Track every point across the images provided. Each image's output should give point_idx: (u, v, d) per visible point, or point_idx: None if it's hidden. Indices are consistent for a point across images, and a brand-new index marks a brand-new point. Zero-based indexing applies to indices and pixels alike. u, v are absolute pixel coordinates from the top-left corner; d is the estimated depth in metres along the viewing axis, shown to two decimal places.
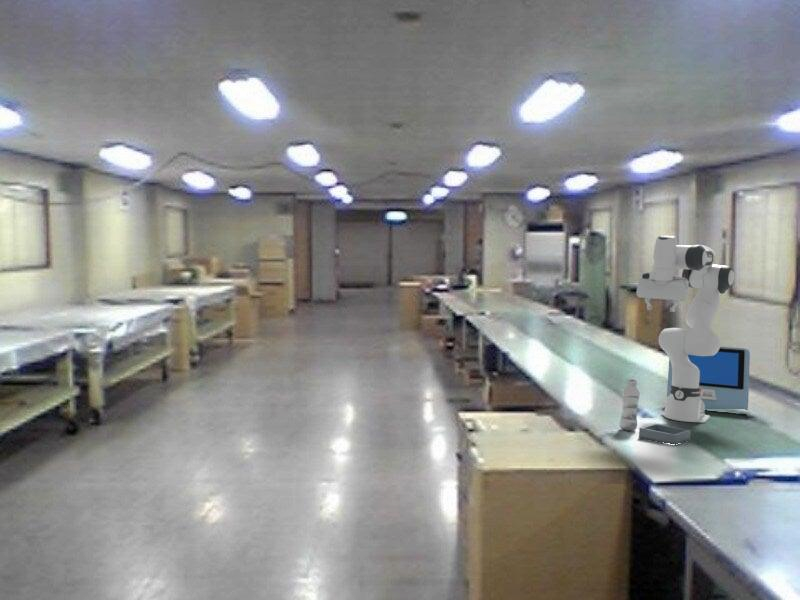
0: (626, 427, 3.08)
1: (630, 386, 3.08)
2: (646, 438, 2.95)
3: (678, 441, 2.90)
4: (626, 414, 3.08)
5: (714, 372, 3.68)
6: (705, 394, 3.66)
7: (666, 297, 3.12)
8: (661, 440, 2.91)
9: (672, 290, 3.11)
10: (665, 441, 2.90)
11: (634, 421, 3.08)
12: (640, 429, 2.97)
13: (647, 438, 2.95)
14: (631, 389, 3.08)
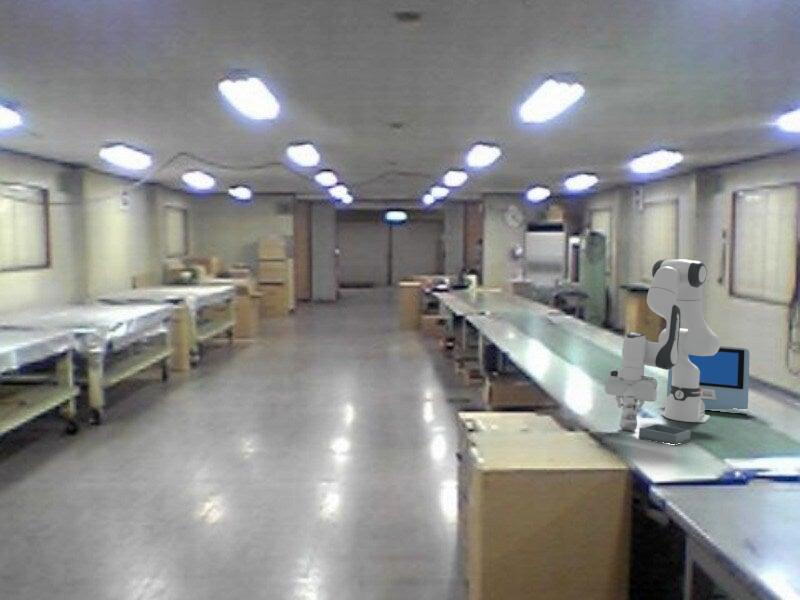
0: (626, 427, 3.08)
1: None
2: (646, 438, 2.95)
3: (678, 441, 2.90)
4: (626, 414, 3.08)
5: (714, 371, 3.69)
6: (705, 394, 3.67)
7: (634, 396, 3.07)
8: (661, 440, 2.91)
9: (641, 390, 3.05)
10: (665, 441, 2.90)
11: (634, 421, 3.08)
12: (640, 429, 2.97)
13: (647, 438, 2.95)
14: (631, 389, 3.07)
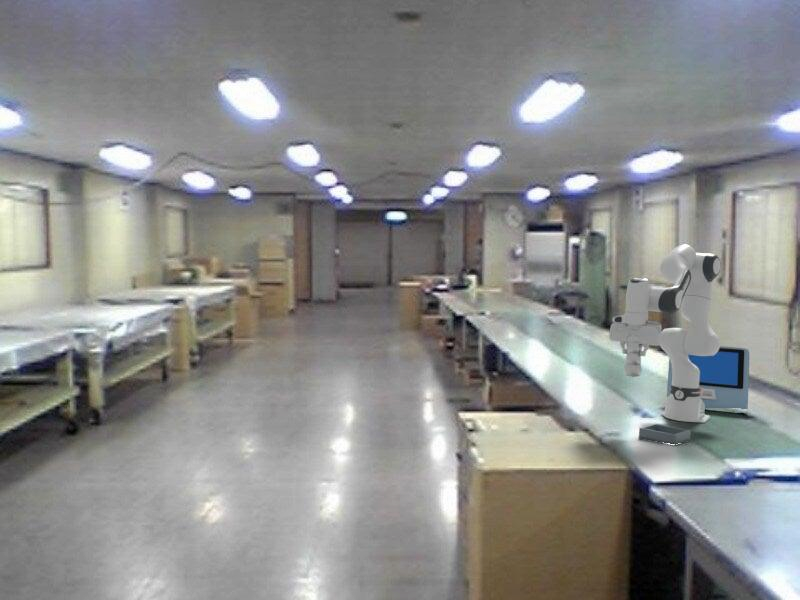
0: (630, 373, 3.07)
1: None
2: (646, 438, 2.95)
3: (678, 441, 2.90)
4: (630, 360, 3.07)
5: (714, 371, 3.69)
6: (705, 393, 3.67)
7: (639, 341, 3.06)
8: (661, 440, 2.91)
9: (645, 335, 3.04)
10: (665, 441, 2.90)
11: (638, 366, 3.07)
12: (640, 429, 2.97)
13: (647, 438, 2.95)
14: (635, 334, 3.06)
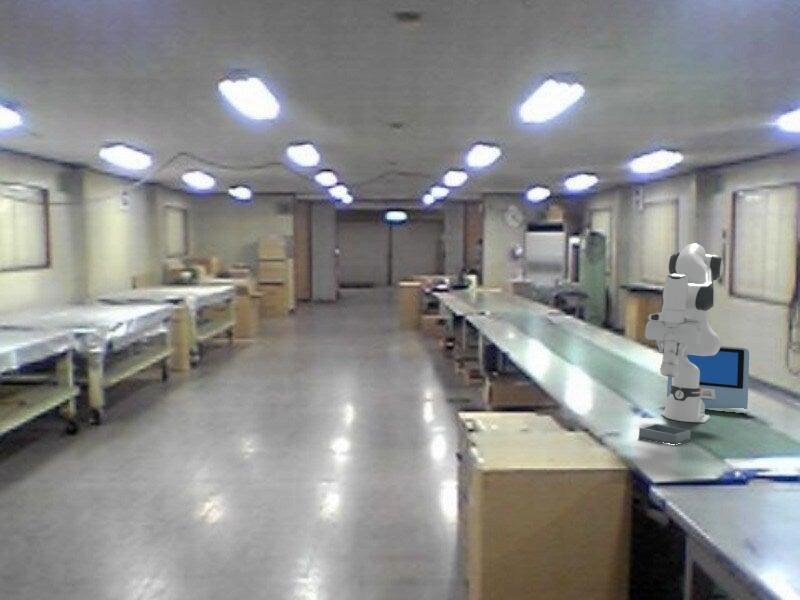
0: (667, 373, 2.94)
1: None
2: (646, 438, 2.95)
3: (678, 441, 2.90)
4: (668, 359, 2.94)
5: (714, 371, 3.70)
6: (705, 393, 3.68)
7: (677, 340, 2.93)
8: (661, 440, 2.91)
9: (684, 333, 2.91)
10: (665, 441, 2.90)
11: (676, 366, 2.94)
12: (640, 429, 2.97)
13: (647, 438, 2.95)
14: (673, 333, 2.94)
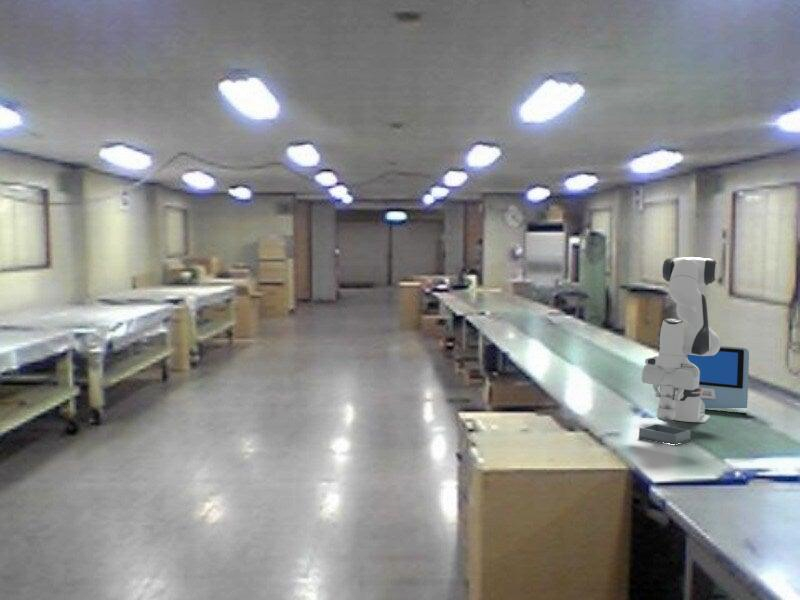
0: (664, 417, 2.95)
1: None
2: (646, 438, 2.95)
3: (678, 441, 2.90)
4: (664, 404, 2.95)
5: (714, 371, 3.70)
6: (704, 393, 3.69)
7: (673, 385, 2.94)
8: (661, 440, 2.91)
9: (680, 378, 2.92)
10: (665, 441, 2.90)
11: (672, 411, 2.95)
12: (640, 429, 2.97)
13: (647, 438, 2.95)
14: (669, 377, 2.95)
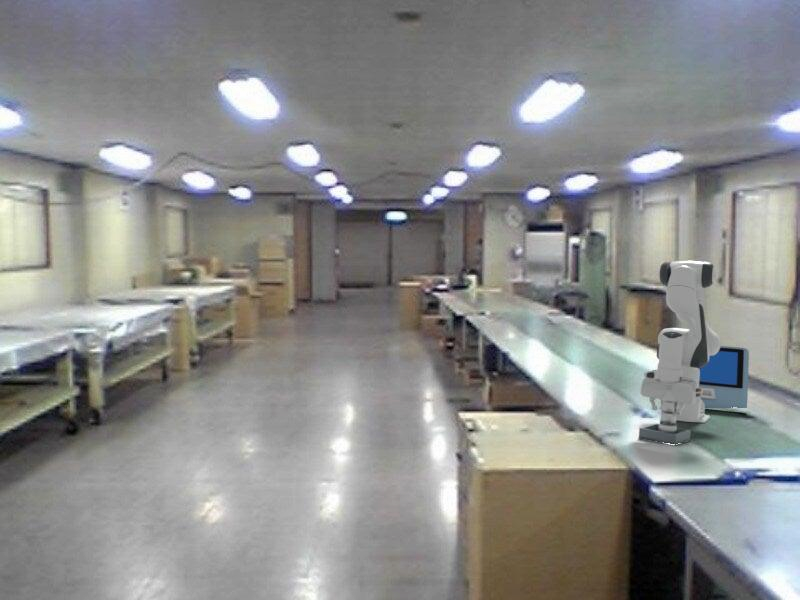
0: None
1: None
2: (646, 438, 2.95)
3: (678, 441, 2.90)
4: (665, 420, 2.95)
5: (713, 371, 3.71)
6: (704, 393, 3.69)
7: None
8: (661, 440, 2.91)
9: (679, 392, 2.92)
10: (665, 441, 2.90)
11: (674, 427, 2.95)
12: (640, 429, 2.97)
13: (647, 438, 2.95)
14: (670, 394, 2.94)
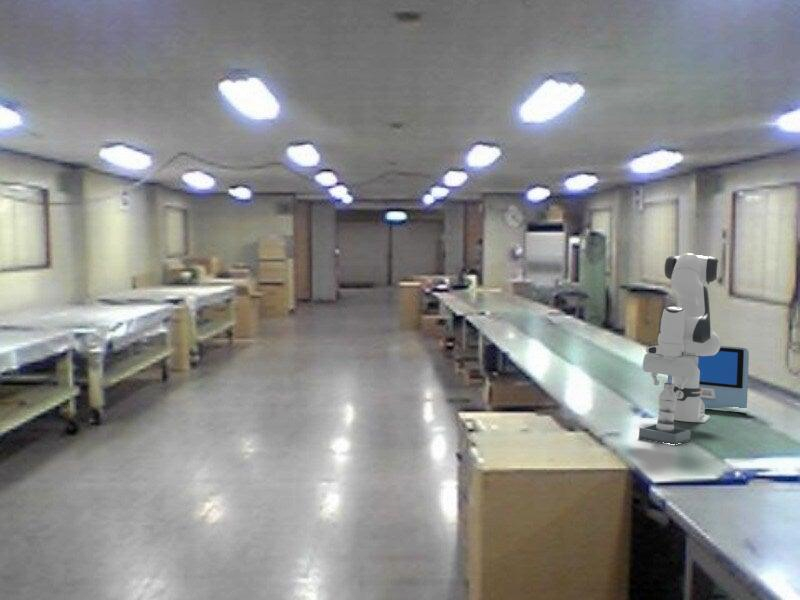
0: None
1: (667, 390, 2.97)
2: (646, 438, 2.95)
3: (678, 441, 2.90)
4: (663, 419, 2.97)
5: (713, 371, 3.71)
6: (704, 393, 3.70)
7: (674, 373, 2.94)
8: (661, 440, 2.91)
9: (681, 367, 2.92)
10: (665, 441, 2.90)
11: (671, 426, 2.96)
12: (640, 429, 2.97)
13: (647, 438, 2.95)
14: (669, 393, 2.96)
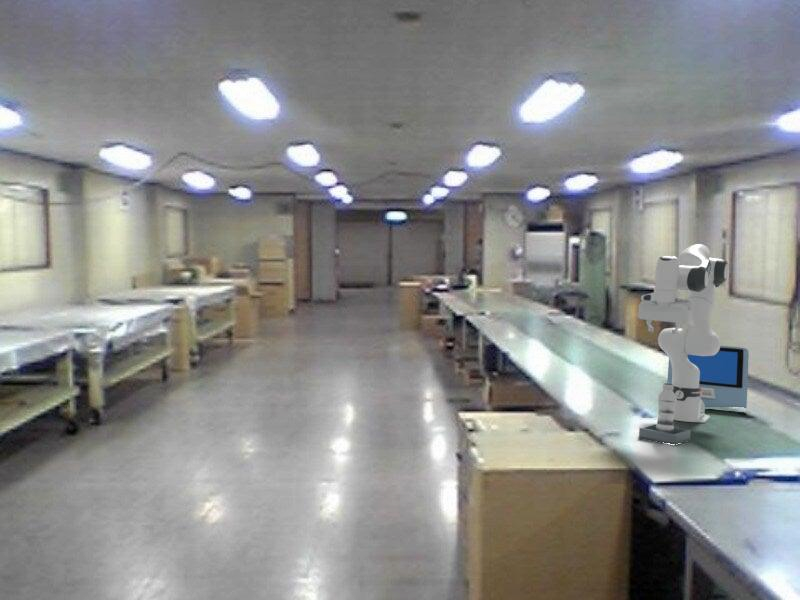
0: None
1: (667, 390, 2.96)
2: (646, 438, 2.95)
3: (678, 441, 2.90)
4: (663, 419, 2.96)
5: (713, 370, 3.72)
6: (704, 392, 3.70)
7: (668, 319, 3.05)
8: (661, 440, 2.91)
9: (675, 312, 3.03)
10: (665, 441, 2.90)
11: (671, 427, 2.96)
12: (640, 429, 2.97)
13: (647, 438, 2.95)
14: (668, 393, 2.95)
